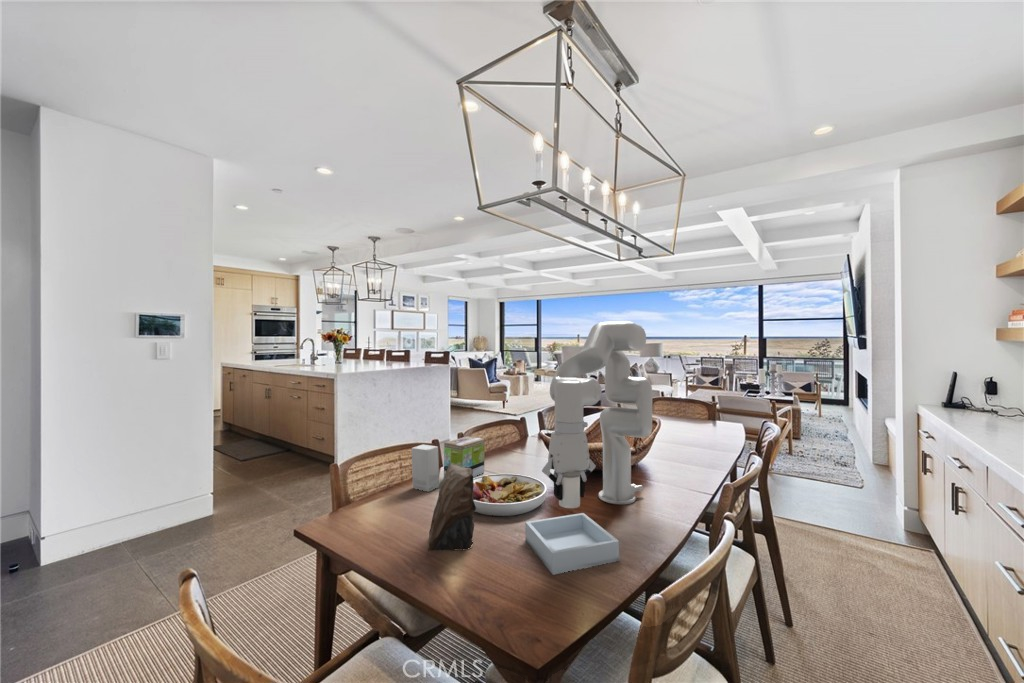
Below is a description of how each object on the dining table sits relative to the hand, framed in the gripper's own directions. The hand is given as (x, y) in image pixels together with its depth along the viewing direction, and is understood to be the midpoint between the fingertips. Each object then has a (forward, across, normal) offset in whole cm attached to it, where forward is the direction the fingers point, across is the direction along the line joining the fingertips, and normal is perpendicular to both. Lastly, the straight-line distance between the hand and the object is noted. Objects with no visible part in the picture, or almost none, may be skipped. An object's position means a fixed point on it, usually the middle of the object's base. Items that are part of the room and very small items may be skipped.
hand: (569, 496), depth 107 cm
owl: (+14, +29, -15) cm, 36 cm away
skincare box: (+14, +30, -60) cm, 69 cm away
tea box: (+14, +13, -69) cm, 72 cm away
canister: (+2, 0, 0) cm, 2 cm away
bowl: (+14, +6, -38) cm, 41 cm away
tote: (+14, 0, 0) cm, 14 cm away
